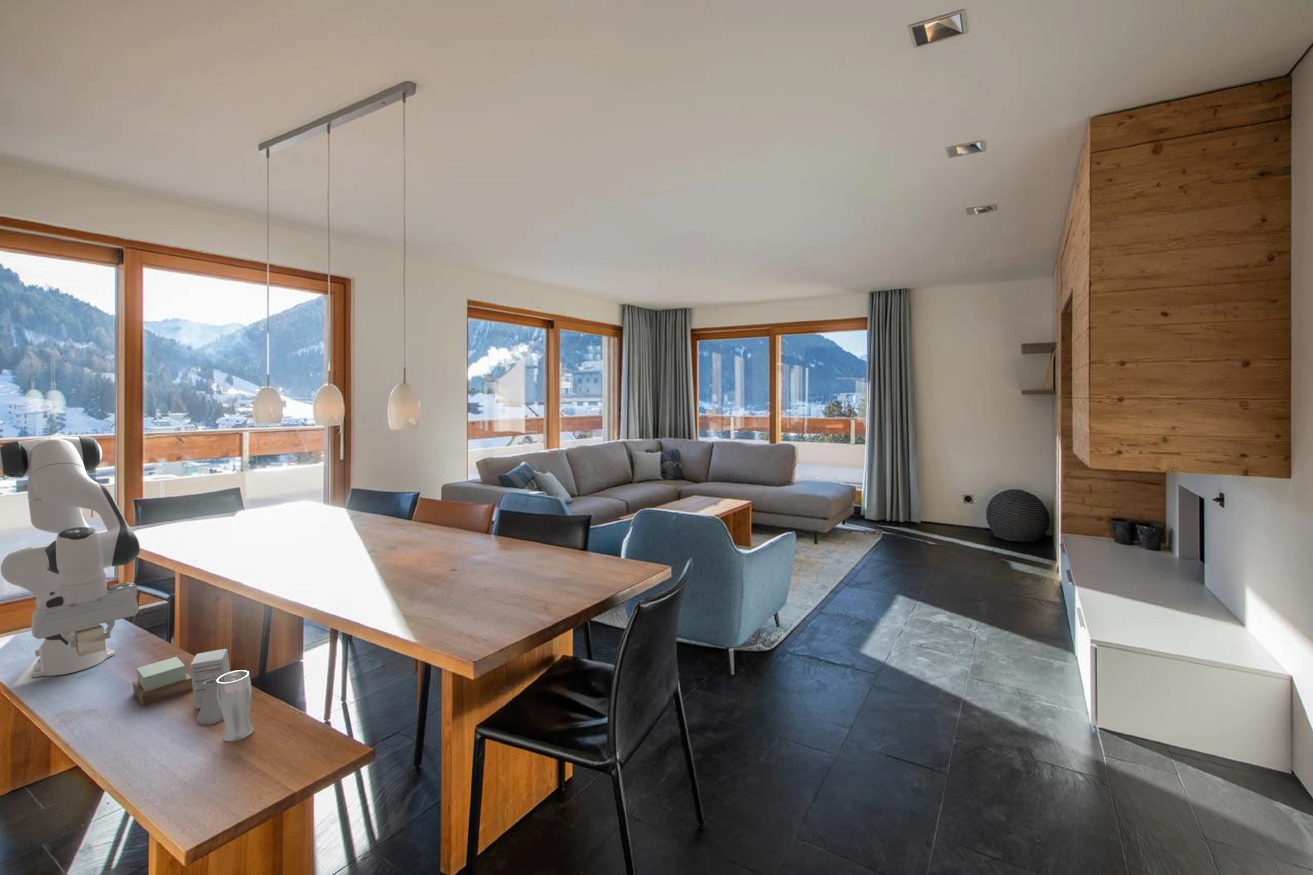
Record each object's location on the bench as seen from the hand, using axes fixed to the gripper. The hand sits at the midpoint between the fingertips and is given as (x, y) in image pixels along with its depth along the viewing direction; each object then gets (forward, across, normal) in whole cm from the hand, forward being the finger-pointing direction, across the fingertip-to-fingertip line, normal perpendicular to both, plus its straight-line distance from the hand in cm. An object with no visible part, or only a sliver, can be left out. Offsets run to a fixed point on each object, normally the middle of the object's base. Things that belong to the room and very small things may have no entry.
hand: (90, 642), depth 159 cm
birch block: (+2, 0, 0) cm, 2 cm away
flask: (+20, -18, +27) cm, 38 cm away
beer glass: (+19, -19, +41) cm, 50 cm away
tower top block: (+16, -14, -1) cm, 21 cm away
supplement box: (+20, -21, +16) cm, 33 cm away
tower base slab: (+20, -14, -1) cm, 25 cm away
